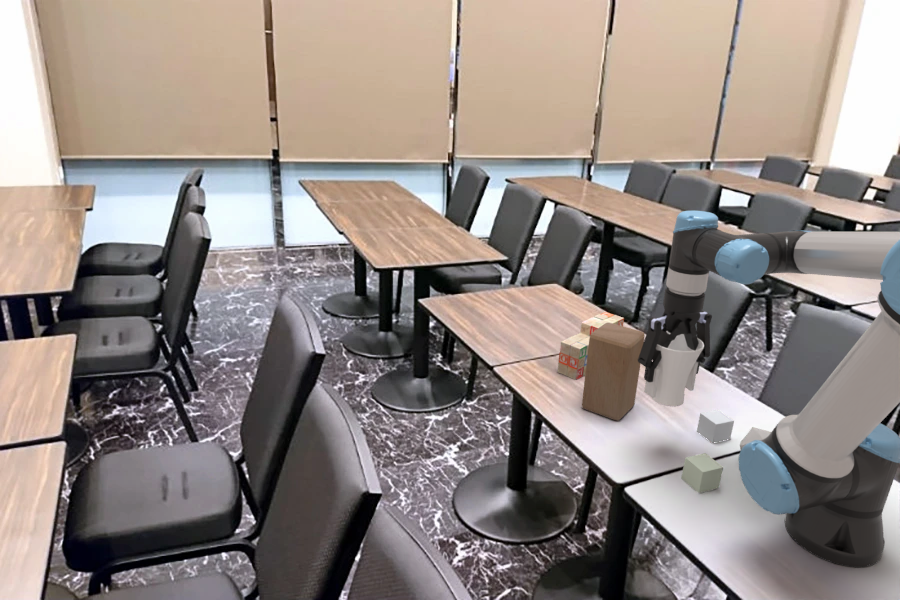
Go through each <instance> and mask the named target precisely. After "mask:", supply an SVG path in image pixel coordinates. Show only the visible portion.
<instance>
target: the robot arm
mask: <svg viewBox="0 0 900 600" xmlns="http://www.w3.org/2000/svg"><path fill="white" fill-rule="evenodd" d="M718 228H719V217H718V216H717V215H716V214H715V213H712V212H709V211H704V210H684V211H683V210H682V211H681V212H679V213H678V215H677V216H676V220H675V224H674V228H673V229H674V230H673V231H672V240H671V248H670V255H669V264H668V269H667V277H666V282H665V286H666V288H665V290H664V295H663V303H662V304H663V308H664V311H663V313H662V315H661V317H657V318H655V317H649V319H648V329H647V331H646V335H645V337H644V343H643V346H642V349H641V352H640V355H639V358H638V362H639V363H640V365H642V366H643V367H644V374H643V375H644V376H643V379H644V381H645V383H644V384H645V385H644V393H645V394H646V395H648V396H649V397H650V398H651V399H652V398H654V397H655V396H656V390H657V384H658V377H659V371H660V369H659V368H658V367H657V366H658V364H659V362H660V360H661V359H662V356H661V351H659V350H657V349H656V346H657V344H658V345H660V346H662V347H665V348H668V346H669V344H670V343H671V341H673V340H674V339H675V338H676V336H677V335H680V334H684V336H685V340H686V343H687V346H688V347H689V348H690V349H692V350H694V351H695V350H696V348H697V346H698V344H699V343H698V339H697V338H699V339H700V340H701V341H702V342H703V343H704V348H703V350H702V351H701V353H700V355H699V357H698V358H697V360H696V362H695V364H694V366H693V367H692V369H691V371H690V374H689V376H688V379H687V383H686V387H685V389H687V390H688V391H690V392H691V391H694V388H695V383H696V378H697V375H698V374H699V370H700V366H701V364H703V363H705V362H706V358H709V357H710V356H711V336H710V335H711V329H710V327H711V323H712V317H713V315H712V314H710V313H708V312H707V311H705V310H704V309H703V308H704V304H705V298H706V294H705V292H706V291H707V287H708V281H709V275H710V272H711V273H713V274H715V275H718V276H719V277H721V278H724V280H728V281H729V282H734V283H737V284H740V285H751V284H753V283H755V282H756V281H757V280H760V279H762V277H763V276H764V275H771V274H785V273H786V274H801V275H818V276H832V277H843V278H854V279H867V280H880V281H881V282H880V291H879V293H878V294H877V304H878V306H879V309H880V313H879V314H878V315H877V316H876V317H875V319H874V320H873V321H872V322H871V324H870V325H869V326H868V327H867V329H866V330H865V332H863V334H861V336H860V337H859V339H858V340H857V341H856V343H854V344H853V345H852V347H851V349H850V350H849V351H848V353H847V354H846V355H845V356H844V358H843V359H842V360H841V361H840V362H839V364H838V365H837V366H836V368H835V369H834V370H833V371H832V372H831V374H830V375H829V376H828V377H827V379H826V380H825V382H823V384H822V385H821V386H820V388H819V389H818V390H817V391H816V392H815V394H813V396H812V397H811V399H809V401H808V403H807V404H806V405H805V406H804V408H803V409H802V410H801V411H800V412H799V413H798V414H790V415H786V416H784V417H783V418H782V419H781V420H779V422H778V423H776V425H775V427H774V428H773V429H772V430H771V431H770V432H771V433H770V434H769V436H768V437H766V438H765V439H763V440H754V441H752V442H750V443H748V444H746V445H745V446H744V447H743V448H742V449H740V452H739V455H738V470H739V472H740V478H741V480H742V483H743V485H744V487H745V489H746V491H747V493H748V494H749V496H750V497H751V498H752V500H753V501H754V502H755V503H756V504H757V505H758V506H759V507H760V508H762V509H763V510H765V511H766V512H769V513H771V514H773V515H784V514H786V515H785V518H784V525H785V529H786V532H788V534H789V535H790V537H791V538H792V539H793V540H794V541H795V542H796V543H797V544H798V545H799V546H801V547H802V548H803V549H805V550H806V551H808V552H810V554H812V555H815V556H816V557H818V558H821V559H822V560H825V561H827V562H831V563H833V564H837V565H840V566H845V567H850V568H851V567H852V568H865V567H866V568H867V567H869V566H873V565H875V564H876V563H878V562H879V561H880V560H881V558H882V555H883V551H884V549H885V546H886V545H885V544H886V542H885V538H884V524H883V522H884V521H883V513H884V509H885V505H886V502H887V500H888V497H889V494H890V491H891V488H892V485H893V482H894V479H895V476H896V474H897V471H898V468H899V465H900V436H899V435H898V434H897V432H895V431H894V430H892V429H891V428H890V427H888V426H886V425H885V424H883V423H881V422H882V421H884V419H885V418H887V416H889V414H890V413H891V412H892V411H893V410H894V409H895V408H896V407H897V406H898V405H899V404H900V231H811V230H801V229H800V230H799V229H797V230H789V231H779V232H778V231H776V232H762V233H747V234H744V233H743V234H732V233H729V232H726V231H723V230H720V229H718ZM667 331H668V332H669V333H671V334H668V333H667Z"/></svg>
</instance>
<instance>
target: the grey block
mask: <svg viewBox="0 0 900 600" xmlns="http://www.w3.org/2000/svg"><path fill="white" fill-rule="evenodd" d="M771 432H772V431H769V430H765V429H762V428H759V427H754V426H753V427H751V428H750V429H749V431H748V432H747V433H746V435H745V436H744V437H743V438H742V440H741V441H740V444H739V448H740V450H741V449H742V448H743V447H744V446H745V445H746V444H748V443H750V442H752V441H754V440H763V439H765V438H766V437H768V436H769V434H770V433H771Z"/></svg>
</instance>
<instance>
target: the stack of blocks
mask: <svg viewBox="0 0 900 600" xmlns="http://www.w3.org/2000/svg"><path fill="white" fill-rule="evenodd" d="M624 320H625V318H624V317H621V316H619V315H617V314H613V313H610V312H607V311H603V312H602V313H599V314H596V315H594V316H592V317H589V318H588V319H586V320H584V321H582V322H581V323H580V332H578V333H576V334H575V335H572V336H569V337H567V338H566V339H564V340H561V341H560V348H559V353H558V363H557V373H559V374H561V375H564V376H566V377H568V378H571V379H572V380H576V381H577V380H579V379H580V378H582V377H585V373H586V364H587V356H588V347H589V338H590V335H591V333H592V332H594V331H595V330H597V329H598V328H599V327H601V326H602V325H604V324H605V323H612V324H616V325H620V326H623V327H624V322H625V321H624Z"/></svg>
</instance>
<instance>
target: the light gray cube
mask: <svg viewBox="0 0 900 600" xmlns="http://www.w3.org/2000/svg"><path fill="white" fill-rule="evenodd" d="M734 423H735V420H734V419H732V418H731V417H729V416H728V415H727V414H725V413H724V412H722V411H721V410H719V409H713V410H708V411H704V412H700V414H699V419H698V423H697V428H696V432H697V433H698V434H699V433H700V434H701V435H700V434H699V435H700V436H702V437H703V436H704V437H705V439H706V438H707V439H708V440H709V441H711V442H712V443H713V444H715V443H714V442H717V443H720V442H719V441H722V442H724V441H723V440H726V441H728V440H727V439H730V440H731V437H732V433H733V428H734ZM704 437H703V438H704ZM707 439H706V440H707ZM708 440H707V441H708ZM711 442H710V443H711ZM712 443H711V444H712Z"/></svg>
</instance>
